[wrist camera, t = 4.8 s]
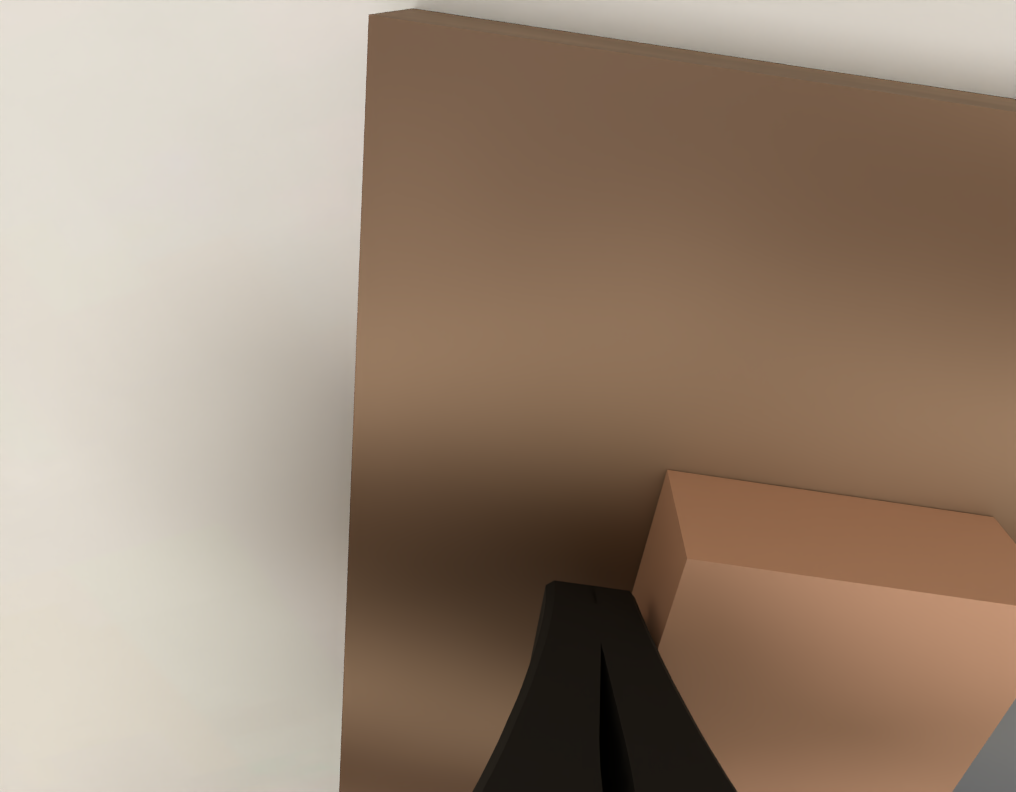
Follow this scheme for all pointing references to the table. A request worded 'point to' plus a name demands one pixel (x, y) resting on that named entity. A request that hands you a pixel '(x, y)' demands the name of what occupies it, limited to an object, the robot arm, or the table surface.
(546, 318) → the walnut platform
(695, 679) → the terracotta tile
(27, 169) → the table surface
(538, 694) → the robot arm
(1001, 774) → the tray
